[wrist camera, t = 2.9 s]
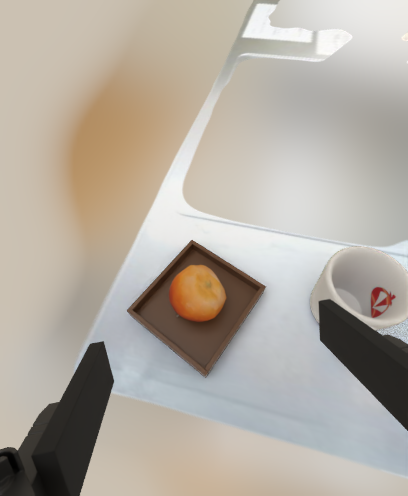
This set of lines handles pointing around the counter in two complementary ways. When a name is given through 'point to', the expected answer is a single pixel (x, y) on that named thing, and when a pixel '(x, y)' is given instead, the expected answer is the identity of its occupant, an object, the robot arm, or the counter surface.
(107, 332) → the counter surface
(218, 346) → the tray
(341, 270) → the cup
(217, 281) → the fruit
